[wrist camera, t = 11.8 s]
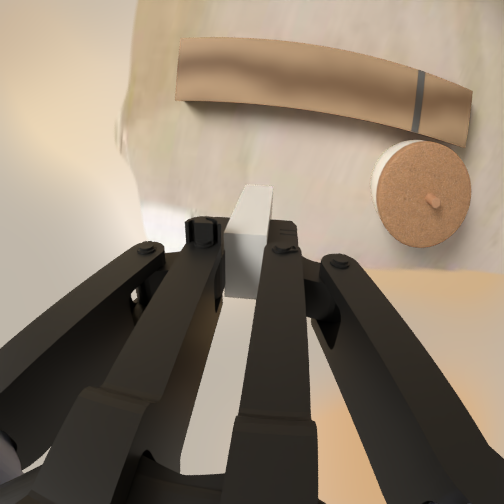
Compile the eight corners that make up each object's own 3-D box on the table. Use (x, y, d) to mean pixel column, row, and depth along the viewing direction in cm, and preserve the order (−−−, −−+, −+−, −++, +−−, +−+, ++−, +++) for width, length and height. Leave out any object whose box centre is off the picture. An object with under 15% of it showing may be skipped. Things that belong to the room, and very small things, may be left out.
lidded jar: (365, 126, 30) (394, 133, 22) (445, 143, 29) (489, 158, 21) (353, 215, 35) (373, 250, 27) (429, 225, 34) (463, 260, 26)
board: (188, 43, 28) (180, 38, 25) (459, 91, 26) (473, 91, 23) (183, 100, 31) (174, 100, 28) (452, 144, 29) (465, 148, 26)
